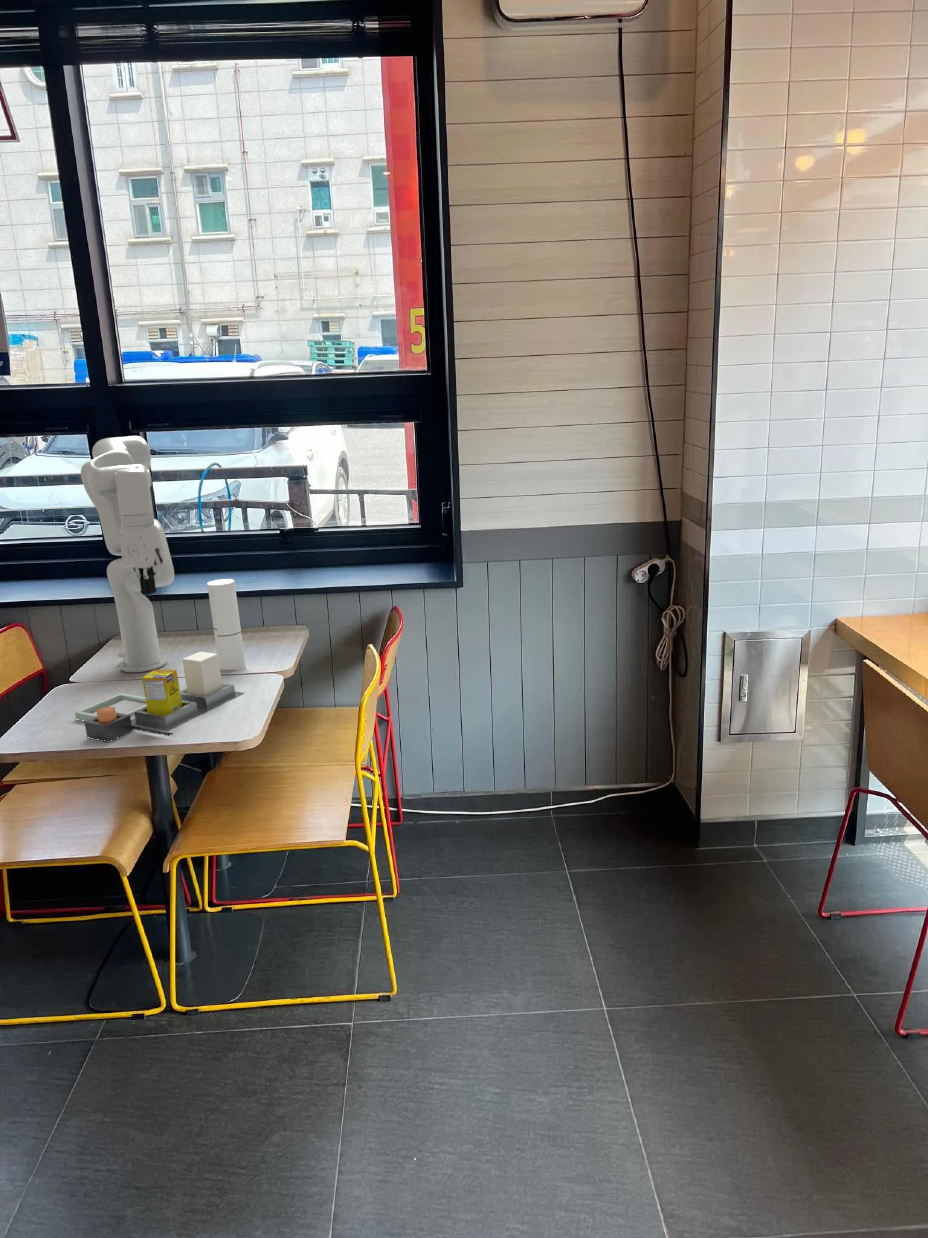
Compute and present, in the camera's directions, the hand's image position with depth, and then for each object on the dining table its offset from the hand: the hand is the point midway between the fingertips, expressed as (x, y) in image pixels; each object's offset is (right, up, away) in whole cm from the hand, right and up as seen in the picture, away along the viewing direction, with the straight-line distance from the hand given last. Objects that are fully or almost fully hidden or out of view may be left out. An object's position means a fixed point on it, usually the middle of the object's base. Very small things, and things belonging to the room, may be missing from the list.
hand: (149, 593), depth 222 cm
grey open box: (+11, -29, -4) cm, 31 cm away
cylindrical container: (+14, -21, +26) cm, 36 cm away
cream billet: (+14, -26, +2) cm, 30 cm away
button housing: (-4, -33, -15) cm, 37 cm away
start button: (-4, -31, -16) cm, 35 cm away
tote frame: (-7, -30, -2) cm, 31 cm away
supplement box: (+7, -30, -9) cm, 32 cm away
